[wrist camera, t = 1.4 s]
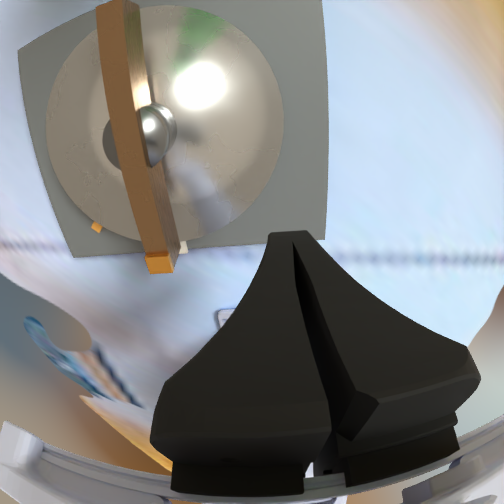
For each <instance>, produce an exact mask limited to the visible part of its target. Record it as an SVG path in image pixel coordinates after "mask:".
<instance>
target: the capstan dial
mask: <svg viewBox="0 0 504 504" xmlns="http://www.w3.org/2000/svg"><path fill="white" fill-rule="evenodd" d="M96 22H97V29H95V30H94V31H93V32H91V33H90V34H89V35H87V36H86V37H85V38H84V39H83V40H82V41H81V42H80V43H79V44H78V45H77V46H76V48H75V49H74V50H73V51H72V53H71V54H70V55H69V56H68V58H67V59H66V61H65V62H64V64H63V66H62V67H61V69H60V71H59V73H58V75H57V77H56V79H55V82H54V84H53V87H52V90H51V93H50V97H49V100H48V106H47V112H46V141H47V147H48V152H49V157H50V160H51V163H52V166H53V169H54V171H55V173H56V176H57V178H58V180H59V182H60V184H61V185H62V187H63V188H64V190H65V192H66V193H67V195H68V196H69V197H70V198H71V200H72V201H73V202H74V203H75V204H76V205H77V206H78V207H79V208H80V209H81V210H82V211H83V212H84V213H85V214H86V215H87V216H88V217H90V218H91V219H92V220H94V221H95V222H96V223H98V224H100V225H101V226H103V227H105V228H106V229H108V230H110V231H112V232H114V233H117V234H119V235H122V236H125V237H128V238H131V239H135V240H139V241H142V244H143V247H144V250H145V253H146V256H145V261H146V264H147V267H148V270H149V272H150V274H159V273H173V271H174V267H175V264H176V260H177V257H178V254H179V252H180V249H181V245H180V242H182V241H188V240H192V239H195V238H199V237H202V236H205V235H207V234H210V233H212V232H215V231H216V230H218V229H220V228H222V227H224V226H226V225H227V224H229V223H230V222H232V221H233V220H234V219H236V218H237V217H238V216H240V215H241V214H242V213H243V212H244V211H245V210H246V209H247V208H248V207H249V206H250V205H251V204H252V203H253V202H254V201H255V199H256V198H257V197H258V196H259V195H260V193H261V192H262V190H263V189H264V187H265V186H266V184H267V182H268V181H269V179H270V177H271V175H272V172H273V170H274V168H275V166H276V163H277V160H278V157H279V153H280V150H281V144H282V138H283V127H284V114H283V106H282V98H281V94H280V91H279V87H278V84H277V80H276V78H275V76H274V74H273V72H272V69H271V67H270V65H269V63H268V62H267V60H266V59H265V57H264V56H263V54H262V53H261V51H260V50H259V49H258V47H257V46H256V45H255V44H254V43H253V42H252V41H251V40H250V39H249V38H248V37H247V36H246V35H245V34H244V33H243V32H241V31H240V30H239V29H238V28H236V27H235V26H234V25H232V24H231V23H229V22H227V21H225V20H224V19H222V18H220V17H218V16H216V15H213V14H211V13H208V12H205V11H203V10H199V9H195V8H190V7H185V6H173V5H161V6H151V7H145V8H141V9H140V6H139V5H138V4H136V3H134V2H131V1H129V0H112V1H110V2H107V3H105V4H102V5H100V6H97V7H96Z"/></svg>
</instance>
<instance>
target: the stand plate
mask: <svg viewBox="0 0 504 504" xmlns="http://www.w3.org/2000/svg"><path fill="white" fill-rule="evenodd" d="M129 1H131V2H134V3H136V4H138V5H139V6H140V9H141V8H145V7H151V6H161V5H173V6H185V7H190V8H195V9H199V10H203V11H205V12H208V13H211V14H213V15H216V16H218V17H220V18H222V19H224V20H225V21H227V22H229V23H231V24H232V25H234V26H235V27H236V28H238V29H239V30H240V31H241V32H243V33H244V34H245V35H246V36H247V37H248V38H249V39H250V40H251V41H252V42H253V43H254V44H255V45H256V46H257V47H258V49H259V50H260V51H261V53H262V54H263V56H264V57H265V59H266V60H267V62H268V63H269V65H270V67H271V69H272V72H273V74H274V76H275V78H276V80H277V84H278V87H279V91H280V94H281V98H282V106H283V114H284V127H283V138H282V144H281V150H280V153H279V157H278V160H277V163H276V166H275V168H274V170H273V172H272V175H271V177H270V179H269V181H268V182H267V184H266V186H265V187H264V189H263V190H262V192H261V193H260V195H259V196H258V197H257V198H256V199H255V201H254V202H253V203H252V204H251V205H250V206H249V207H248V208H247V209H246V210H245V211H244V212H243V213H242V214H241V215H240V216H238V217H237V218H236V219H234V220H233V221H232V222H230V223H229V224H227V225H226V226H224V227H222V228H220V229H218V230H216V231H215V232H212V233H210V234H207V235H205V236H202V237H199V238H195V239H192V240H188V241H182V242H180V245H181V249H180V252H179V254H184V253H188V249H193V248H207V247H221V246H235V245H250V244H264V243H267V240H268V235H269V234H270V233H271V232H283V231H299V230H307V231H308V232H309V233H310V234H311V235H312V236H313V237H314V239H315V240H325V229H326V212H327V190H328V149H329V118H328V79H327V58H326V43H325V30H324V18H323V8H322V0H129ZM95 29H97V22H96V9H94V10H92V11H90V12H87V13H85V14H83V15H81V16H78V17H76V18H74V19H72V20H70V21H68V22H66V23H64V24H62V25H60V26H58V27H56V28H54V29H53V30H51V31H49V32H47V33H45V34H44V35H42V36H40V37H38V38H37V39H35V40H33V41H32V42H30V43H29V44H27V45H25V46H24V47H22V48H21V49H19V50H18V62H19V72H20V80H21V87H22V94H23V100H24V106H25V111H26V116H27V121H28V125H29V130H30V134H31V138H32V142H33V146H34V150H35V154H36V158H37V161H38V165H39V168H40V171H41V175H42V178H43V181H44V184H45V187H46V190H47V193H48V196H49V199H50V201H51V204H52V207H53V210H54V212H55V215H56V218H57V220H58V223H59V225H60V228H61V230H62V233H63V235H64V237H65V240H66V242H67V244H68V247H69V249H70V251H71V253H72V255H73V258H76V257H88V256H101V255H114V254H126V253H139V252H145V250H144V247H143V244H142V241H139V240H135V239H131V238H128V237H125V236H122V235H119V234H117V233H114V232H112V231H110V230H108V229H106V228H105V227H103V226H101V225H100V224H98V223H96V222H95V221H94V220H92V219H91V218H90V217H88V216H87V215H86V214H85V213H84V212H83V211H82V210H81V209H80V208H79V207H78V206H77V205H76V204H75V203H74V202H73V201H72V200H71V198H70V197H69V196H68V195H67V193H66V192H65V190H64V188H63V187H62V185H61V184H60V182H59V180H58V178H57V176H56V173H55V171H54V169H53V166H52V163H51V160H50V157H49V152H48V147H47V141H46V112H47V106H48V100H49V97H50V93H51V90H52V87H53V84H54V82H55V79H56V77H57V75H58V73H59V71H60V69H61V67H62V66H63V64H64V62H65V61H66V59H67V58H68V56H69V55H70V54H71V53H72V51H73V50H74V49H75V48H76V46H77V45H78V44H79V43H80V42H81V41H82V40H83V39H84V38H85V37H86V36H87V35H89V34H90V33H91V32H93V31H94V30H95Z"/></svg>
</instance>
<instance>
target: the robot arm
mask: <svg viewBox="0 0 504 504" xmlns="http://www.w3.org/2000/svg"><path fill="white" fill-rule="evenodd" d="M218 320H219V324H220V330H219V331H218V332H217V333H216V334H215V335H214V336H213V337H212V338H211V340H210V341H209V342H208V343H207V344H206V345H205V346H204V347H203V348H202V349H201V350H200V351H199V352H198V353H197V354H196V355H195V356H194V357H193V358H192V359H191V360H190V361H189V362H188V363H187V364H185V365H184V366H183V367H182V368H181V369H180V370H179V371H177V372H176V373H175V374H174V375H173V376H172V377H170V378H169V379H168V380H167V381H166V382H165V383H164V386H163V388H162V391H161V393H160V396H159V399H158V402H157V405H156V407H155V411H154V415H153V421H152V427H151V434H150V443H151V444H152V446H153V447H154V448H155V449H156V450H157V451H159V452H160V453H161V454H163V455H164V456H165V457H167V458H168V459H170V460H171V461H173V467H172V476H165V475H159V474H153V473H147V472H141V471H136V470H131V469H127V468H123V467H119V466H114V465H111V464H107V463H103V462H99V461H96V460H93V459H89V458H86V457H83V456H80V455H77V454H74V453H71V452H68V451H65V450H63V449H60V448H57V447H55V446H52V445H50V444H47V443H45V442H43V441H42V440H41V439H40V438H38V437H37V436H35V435H34V434H32V433H30V432H29V431H27V430H25V429H23V428H21V427H19V426H16V425H14V424H12V423H10V422H8V421H4V423H3V426H2V430H1V433H0V489H1V490H3V491H4V492H5V493H7V494H8V495H9V496H11V497H12V498H13V499H15V500H16V501H18V502H19V503H20V504H172V503H171V501H169V500H168V499H174V500H181V501H189V502H198V503H202V504H346V499H347V495H352V494H356V493H361V492H365V491H369V490H373V489H377V488H381V487H385V486H388V485H392V484H395V483H398V482H401V481H404V480H407V479H410V478H413V477H416V476H419V475H422V474H424V473H427V472H430V471H432V470H435V469H437V468H439V467H442V466H444V465H446V464H449V463H451V462H452V463H451V465H450V466H449V469H448V470H447V471H445V472H443V473H440V474H438V475H436V476H434V477H431V478H429V479H427V480H425V481H423V482H420V483H418V484H416V485H413V486H411V487H408V488H405V489H403V491H402V496H403V503H401V504H504V414H503V415H502V416H500V417H498V418H496V419H494V420H493V421H491V422H489V423H487V424H485V425H483V426H481V427H479V428H477V429H476V430H473V431H471V432H469V433H467V434H465V435H462V436H460V437H458V438H457V437H456V433H455V430H454V427H453V426H455V425H456V424H457V423H458V420H457V416H456V413H455V411H456V410H457V409H458V408H459V407H460V406H461V405H462V404H463V403H464V402H465V401H466V400H467V399H468V398H469V397H470V396H471V395H472V394H473V393H474V391H475V390H476V389H477V387H478V385H479V383H480V381H481V376H480V373H479V371H478V369H477V367H476V365H475V362H474V360H473V358H472V356H471V354H470V352H469V350H468V349H467V347H466V346H465V345H463V344H460V343H458V342H456V341H453V340H451V339H449V338H447V337H444V336H442V335H440V334H437V333H435V332H433V331H431V330H429V329H428V328H426V327H424V326H422V325H420V324H418V323H416V322H414V321H413V320H411V319H409V318H408V317H406V316H404V315H403V314H401V313H399V312H398V311H396V310H395V309H393V308H392V307H390V306H389V305H387V304H386V303H384V302H383V301H381V300H380V299H378V298H377V297H376V296H375V295H373V294H372V293H371V292H369V291H368V290H367V289H365V288H364V287H363V286H362V285H360V284H359V283H358V282H357V281H356V280H354V279H353V278H352V277H351V276H350V275H349V274H348V273H347V272H346V271H345V270H344V269H343V268H342V267H341V266H340V265H339V264H338V263H337V262H336V261H335V260H334V259H333V258H332V257H331V256H330V255H329V254H328V253H327V252H326V251H325V250H324V249H323V248H322V247H321V245H320V244H319V243H318V242H317V241H316V240H315V239H314V237H313V236H312V235H311V234H310V233H309V232H308V231H307V230H299V231H283V232H271V233H270V234H269V235H268V240H267V245H266V249H265V252H264V255H263V258H262V260H261V263H260V265H259V268H258V270H257V272H256V274H255V276H254V278H253V280H252V282H251V284H250V286H249V288H248V290H247V291H246V293H245V295H244V296H243V298H242V300H241V301H240V303H239V304H238V306H237V307H236V309H227V310H220V311H219V312H218ZM166 498H167V499H166Z"/></svg>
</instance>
